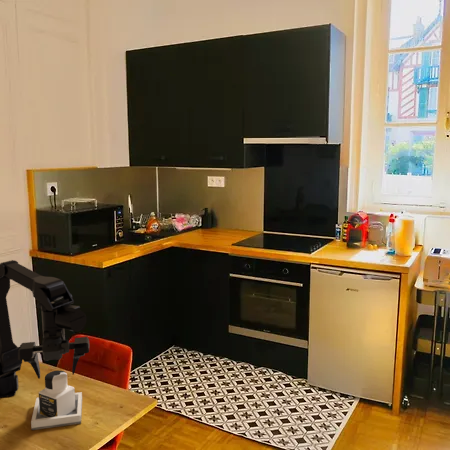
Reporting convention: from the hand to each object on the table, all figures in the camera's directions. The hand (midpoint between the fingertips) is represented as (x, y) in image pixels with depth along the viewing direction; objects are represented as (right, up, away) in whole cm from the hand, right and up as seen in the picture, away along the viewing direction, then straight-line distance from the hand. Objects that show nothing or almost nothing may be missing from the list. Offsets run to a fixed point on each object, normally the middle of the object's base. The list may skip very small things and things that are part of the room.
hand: (56, 376), depth 138 cm
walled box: (0, -12, +2) cm, 12 cm away
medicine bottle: (0, -11, +2) cm, 12 cm away
